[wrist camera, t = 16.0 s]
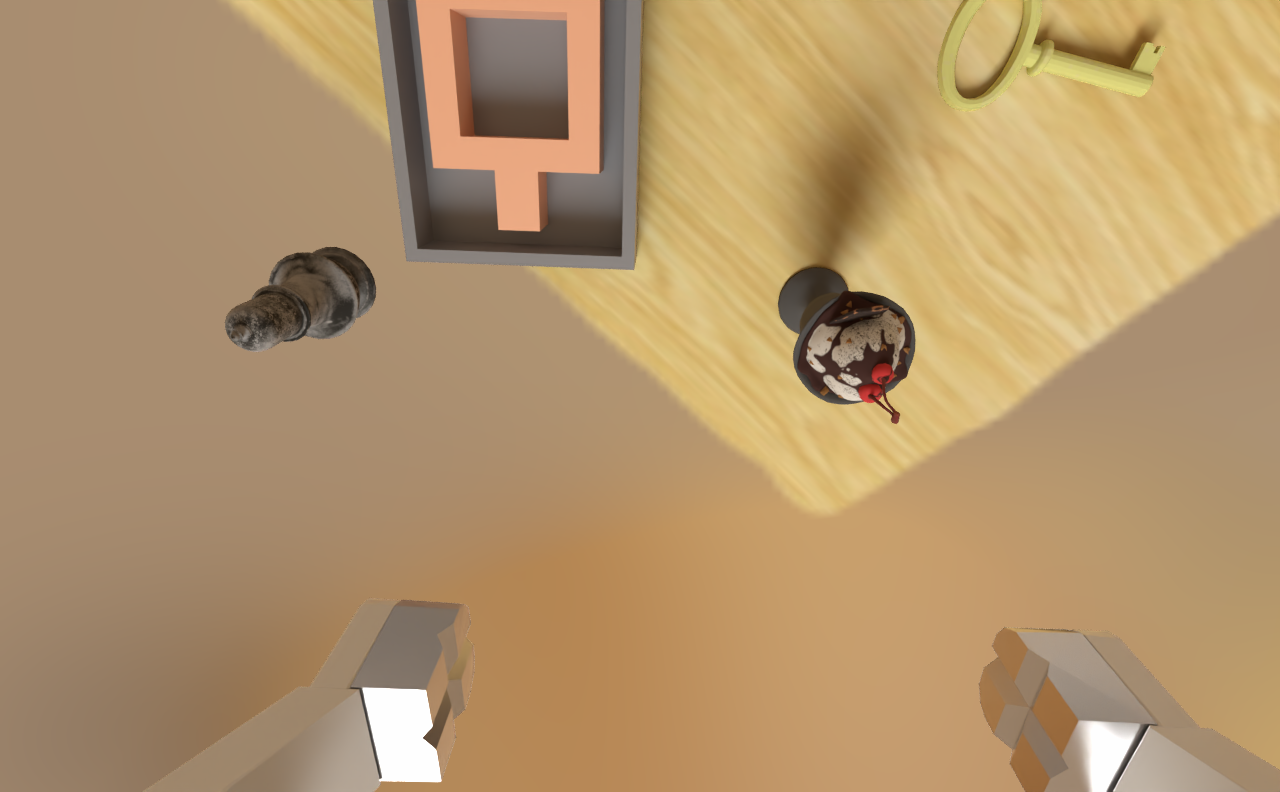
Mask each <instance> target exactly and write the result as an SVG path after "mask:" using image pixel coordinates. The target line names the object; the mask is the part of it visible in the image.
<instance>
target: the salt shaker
mask: <svg viewBox="0 0 1280 792" xmlns="http://www.w3.org/2000/svg"><path fill="white" fill-rule="evenodd" d="M375 297H376V286H375V281H374V278H373V276H372V273H371V271H370V269H369V268H368V267H367V266H366V264H365V263H364V262H363V261H362V260H361V259H360V258H358V257H357V256H356V255H355V254H353V253H351V252H349V251H347V250H345V249H341V248H337V247H325V248H322V249H319V250H316V251H315V252H313V253H295V254H292V255H289V256H286V257H285V258H283V259H282V260H280V261H279V262H278V263H277V264H276V266H275V267H274V269H273V270H272V272H271V276H270V280H269V285H268V286H265V287H262V288H261V289H259V290H258V291H256V292H255V294H254V295H253V297H252V300H249V301H247V302H245V303H242V304H240V305H238V306H236V307H235V308H233V309H232V310H231V311H230V312H229V313H228V315H227V316H226V320H225V328H226V332H227V334H228V336H229V338H230V339H231V340H232V341H233V342H234V343H235V344H236V345H237V346H239V347H241V348H243V349H245V350H248V351H253V352H260V351H264V350H268V349H270V348H272V347H273V346H275V345H277V344H279V343H280V342H282V341H284V342H287V341H295V340H298V339H300V338H302V337H303V336H305V335H306V336H308V337H313V338H317V339H330V338H333V337H337V336H340V335H342V334H343V333H345V332H346V331H348V330H349V329H350V327H351V326H352V325H353V324H354V322H355V320H356V318H358V317H361V316H362V315H364V314H365V313H367V312H368V311H369V309H370V308H371V307H372V305H373V303H374V300H375Z"/></svg>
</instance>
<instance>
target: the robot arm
mask: <svg viewBox="0 0 1280 792" xmlns="http://www.w3.org/2000/svg"><path fill="white" fill-rule="evenodd" d="M470 624H471V621H470V614H469V608H468V606H466V605H464V604H454V603H440V602H427V601H412V600H401V601H400V600H387V599H373V598H369V599H368V600H366V601H365V602H364V603H362V604H361V605H360V606H359V608H358V610H357V611H356V613H355V614H354V616H353V618H352V619H351V621H350V623H349V624H348V626H347V627H346V629H345V631H344V632H343V634H342V635H341V637H340V639H339V640H338V642H337V644H336V645H335V647H334V648H333V650H332V651H331V653H330V654H329V656H328V658H327V659H326V661H325V663H324V664H323V666H322V667H321V669H320V670H319V672H318V674H317V675H316V677H315V679H314V680H313V682H312V683H311V685H310V687H298V688H296V689H295V690H293V691H292V692H290V693H289V694H287V695H286V696H284V697H283V698H281V699H280V700H278V701H277V702H275V703H274V704H272V705H271V706H269V707H268V708H266V709H265V710H263V711H262V712H260V713H259V714H257V715H256V716H254V717H253V718H252V719H250V720H249V721H247V722H246V723H244V724H243V725H241V726H240V727H238V728H237V729H235V730H234V731H232V732H231V733H229V734H228V735H226V736H225V737H223V738H222V739H220V740H219V741H217V742H216V743H214V744H213V745H211V746H210V747H209V748H207V749H205V750H204V751H202V752H201V753H200V754H198V755H197V756H195V757H193V758H192V759H191V760H189V761H188V762H186V763H185V764H183V765H182V766H180V767H179V768H177V769H176V770H175V771H173V772H171V773H170V774H169V775H167V776H165V777H164V778H163V779H161V780H159V781H158V782H156V783H155V784H153V785H152V786H150V787H149V788H147V789H146V790H144V791H143V792H374V791H375V790H376V789H377V788H378V787H379V786H380V781H435V782H441V780H442V777H443V774H444V771H445V768H446V765H447V762H448V759H449V756H450V753H451V750H452V747H453V744H454V741H455V738H456V735H455V727H454V719H455V718H456V717H457V716H458V715H460V714H461V713H462V712H463V711H464V710H465V708H466V705H467V701H468V699H469V695H470V692H471V686H472V681H473V675H474V657H475V656H474V646H473V644H472V643H471V642H470V641H469V640H468V639H467V638H466V635H467V632H468V629H469V627H470ZM992 647H993V649H994V651H995V652H996V654H997V656H998V658H996V659H995V660H994V661H992V662H991V663H990V664H988V665H987V666H986V667H984V669H983V673H982V676H981V679H980V683H979V690H980V703H981V707H982V710H983V713H984V716H985V718H986V721H987V722H988V724H989V726H990V728H991V730H992V732H993V734H994V735H995V736H996V737H998V738H999V739H1000V740H1001V741H1003V742H1004V743H1005V744H1006V745H1008V746H1009V747H1010V748H1012V753H1011V759H1010V765H1011V767H1012V768H1013V770H1014V772H1015V774H1016V776H1017V778H1018V779H1019V781H1020V783H1021V785H1022V787H1023V788H1024V790H1025V792H1280V770H1279V769H1277V768H1276V767H1274V766H1272V765H1271V764H1269V763H1268V762H1266V761H1264V760H1263V759H1261V758H1259V757H1258V756H1256V755H1254V754H1252V753H1251V752H1249V751H1248V750H1246V749H1244V748H1243V747H1241V746H1240V745H1238V744H1236V743H1234V742H1233V741H1231V740H1230V739H1228V738H1226V737H1225V736H1223V735H1221V734H1220V733H1218V732H1216V731H1215V730H1213V729H1208V728H1200V727H1199V726H1198V725H1197V724H1196V723H1195V721H1194V720H1193V719H1192V718H1191V717H1190V716H1189V715H1188V714H1187V713H1186V712H1185V710H1184V709H1183V708H1182V707H1181V706H1180V705H1179V704H1178V703H1177V702H1176V700H1175V699H1174V698H1173V697H1172V696H1171V695H1170V694H1169V693H1168V692H1167V690H1166V689H1165V688H1164V687H1163V686H1162V685H1161V684H1160V683H1159V681H1158V680H1157V679H1156V678H1155V677H1154V676H1153V675H1152V674H1151V672H1150V671H1149V670H1148V669H1147V668H1146V667H1145V666H1144V665H1143V664H1142V662H1141V661H1140V660H1139V659H1138V658H1137V657H1136V656H1135V655H1134V654H1133V653H1132V651H1131V650H1130V649H1129V648H1128V647H1127V646H1126V645H1125V644H1124V643H1123V641H1122V640H1121V639H1120V638H1118V637H1117V636H1115V635H1114V634H1112V633H1111V632H1109V631H1097V630H1065V629H1035V628H1007V627H1004V628H1003V629H1002V630H1001V631H999V632H998V633H997V635H996V637H995V640H994V642H993V645H992Z"/></svg>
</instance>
